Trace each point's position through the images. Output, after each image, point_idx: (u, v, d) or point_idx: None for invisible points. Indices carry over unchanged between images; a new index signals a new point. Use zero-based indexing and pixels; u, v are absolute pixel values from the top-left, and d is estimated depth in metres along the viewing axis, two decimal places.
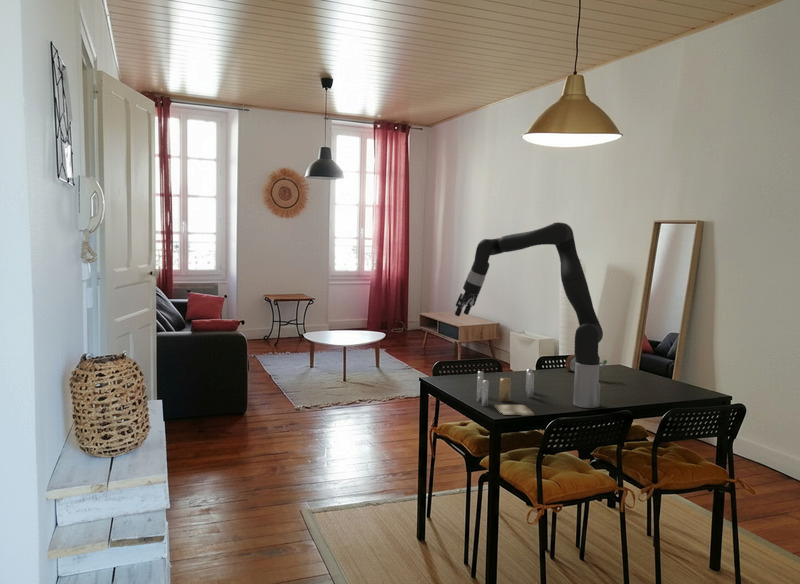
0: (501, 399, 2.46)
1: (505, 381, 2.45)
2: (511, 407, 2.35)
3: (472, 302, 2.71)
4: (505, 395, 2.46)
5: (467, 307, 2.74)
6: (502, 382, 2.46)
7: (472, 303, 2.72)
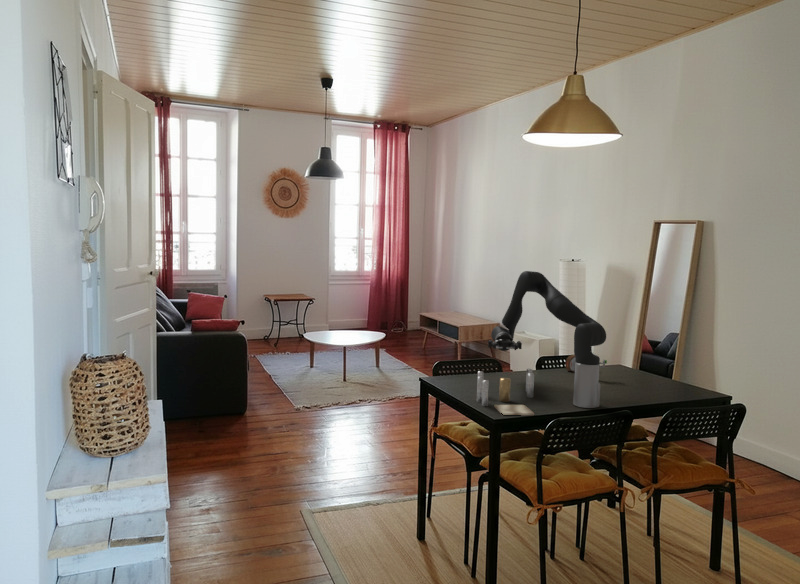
0: (501, 399, 2.46)
1: (505, 381, 2.45)
2: (511, 407, 2.35)
3: (510, 341, 2.64)
4: (505, 395, 2.46)
5: (514, 346, 2.60)
6: (502, 382, 2.46)
7: (511, 341, 2.63)
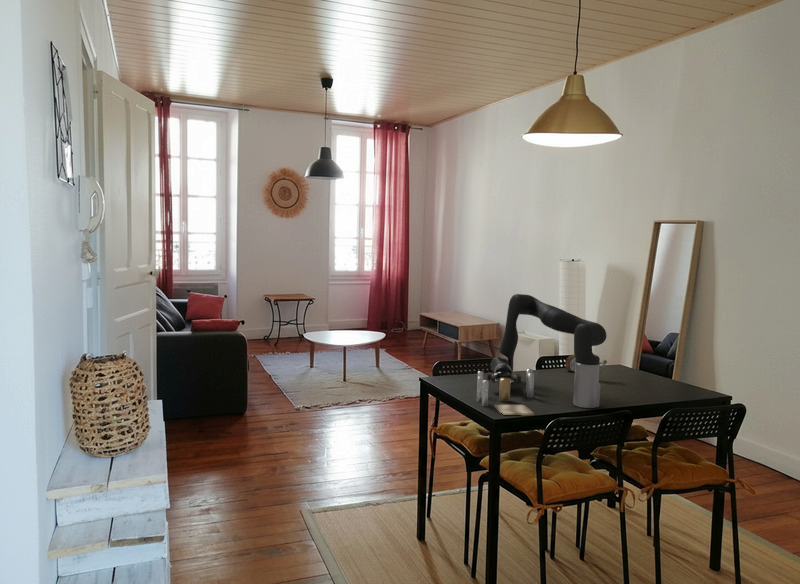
0: (501, 399, 2.46)
1: (505, 381, 2.45)
2: (511, 407, 2.35)
3: (510, 374, 2.60)
4: (505, 395, 2.46)
5: (513, 380, 2.57)
6: (502, 382, 2.46)
7: (511, 374, 2.60)
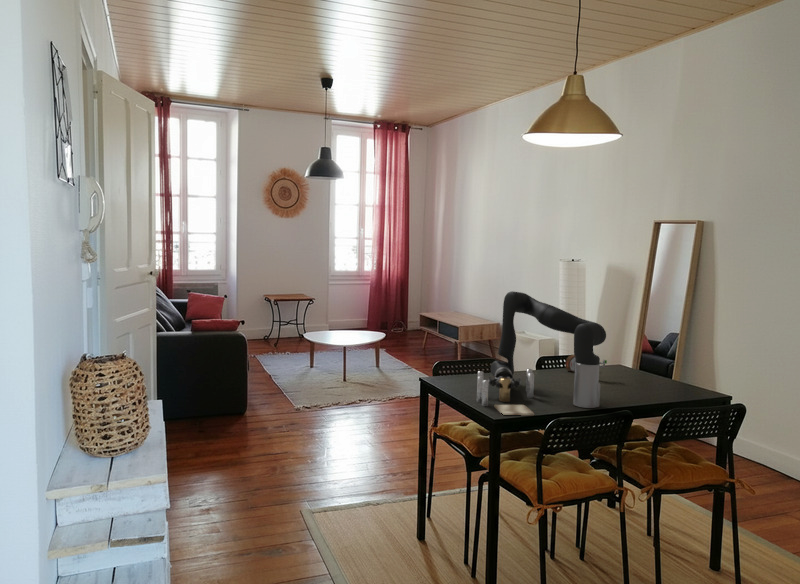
0: (501, 399, 2.46)
1: (505, 381, 2.45)
2: (511, 407, 2.35)
3: None
4: (505, 395, 2.46)
5: (510, 385, 2.48)
6: (502, 382, 2.46)
7: None
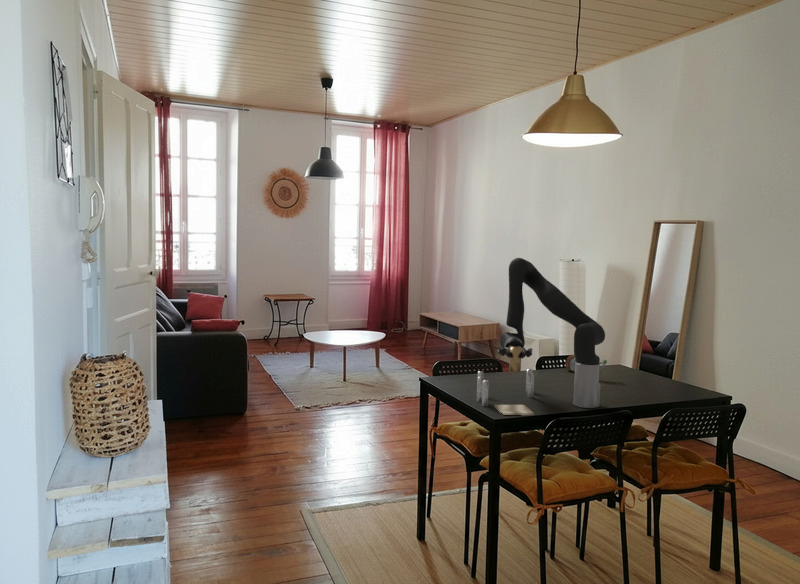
0: (511, 369, 2.31)
1: (516, 350, 2.29)
2: (511, 407, 2.35)
3: None
4: (516, 364, 2.30)
5: (521, 354, 2.32)
6: (512, 351, 2.30)
7: None
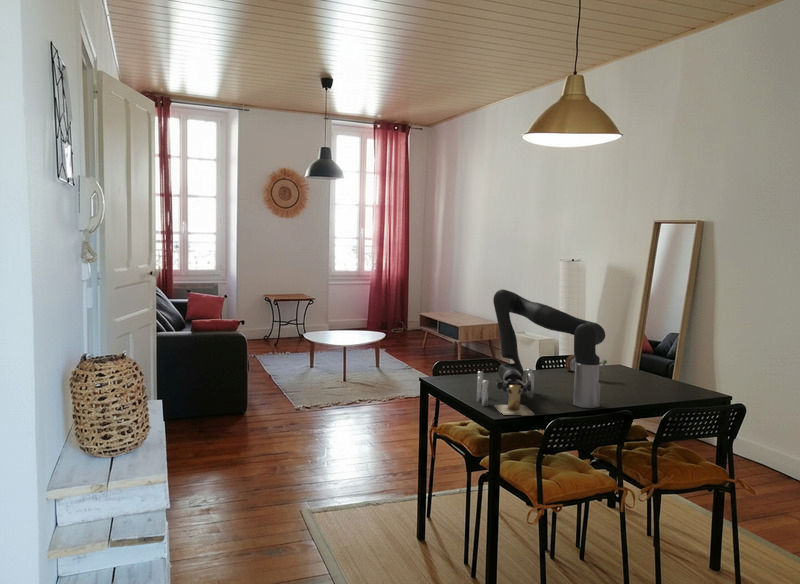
0: (510, 407, 2.31)
1: (515, 388, 2.30)
2: None
3: (519, 381, 2.36)
4: (515, 403, 2.30)
5: None
6: (512, 389, 2.31)
7: (520, 382, 2.36)
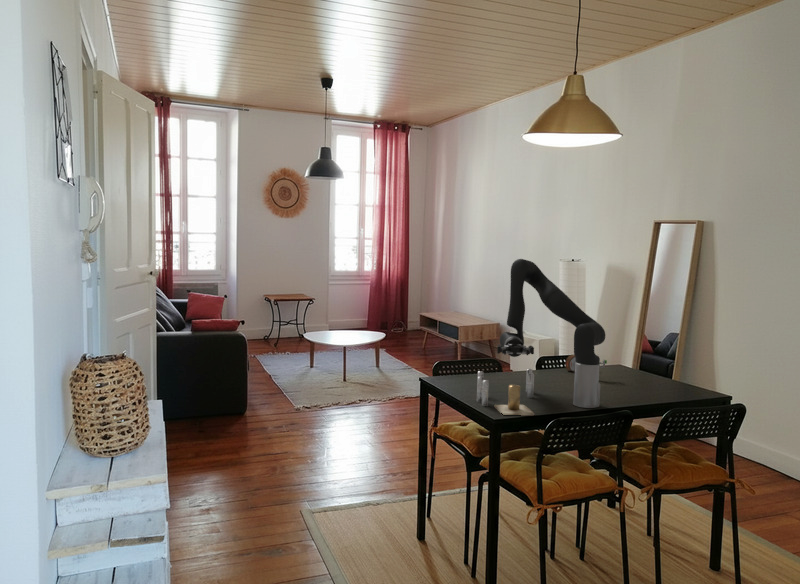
0: (510, 407, 2.31)
1: (514, 388, 2.30)
2: None
3: (521, 345, 2.41)
4: (514, 403, 2.30)
5: None
6: (511, 389, 2.31)
7: (523, 345, 2.40)
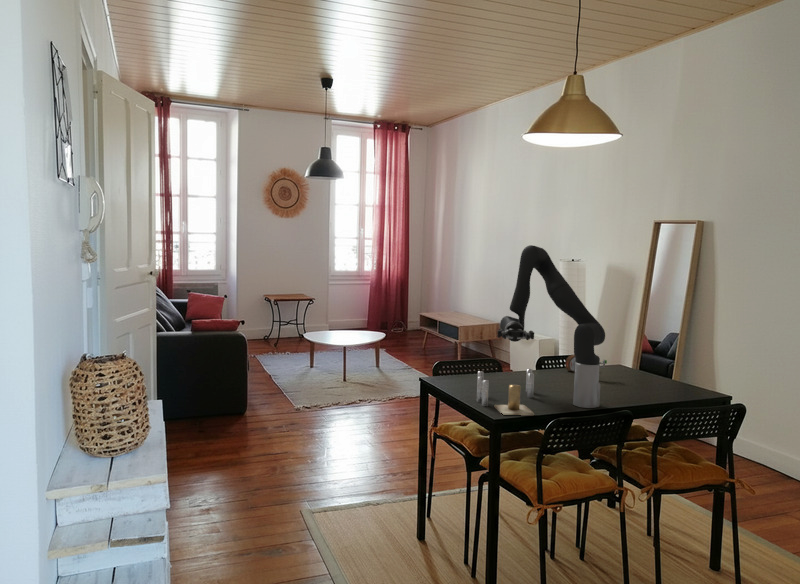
0: (510, 407, 2.31)
1: (514, 388, 2.30)
2: None
3: (522, 330, 2.41)
4: (514, 403, 2.30)
5: (526, 336, 2.37)
6: (511, 389, 2.31)
7: (523, 330, 2.40)
